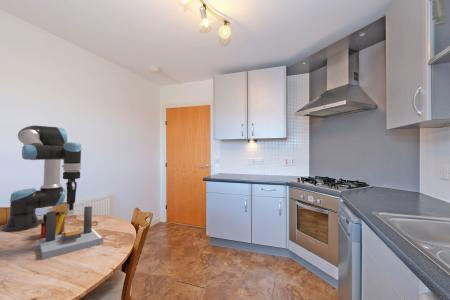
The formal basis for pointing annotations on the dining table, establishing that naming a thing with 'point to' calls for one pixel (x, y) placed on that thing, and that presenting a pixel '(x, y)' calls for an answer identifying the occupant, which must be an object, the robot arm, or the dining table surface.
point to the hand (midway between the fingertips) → (70, 215)
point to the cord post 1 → (50, 226)
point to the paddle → (71, 232)
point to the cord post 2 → (87, 219)
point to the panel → (69, 243)
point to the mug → (58, 225)
